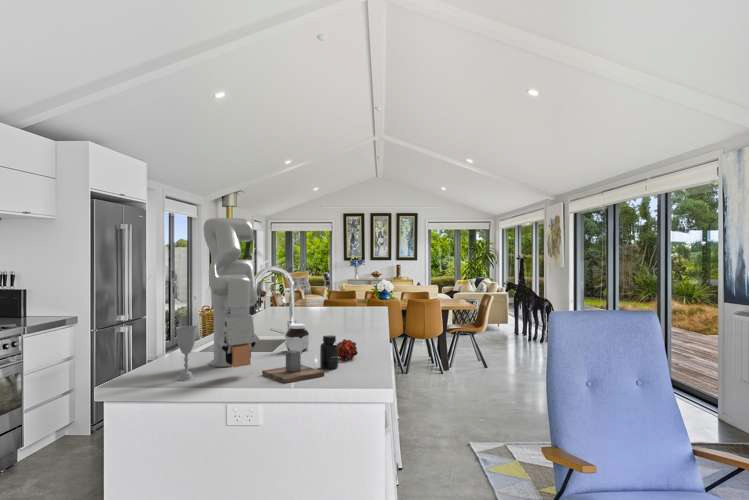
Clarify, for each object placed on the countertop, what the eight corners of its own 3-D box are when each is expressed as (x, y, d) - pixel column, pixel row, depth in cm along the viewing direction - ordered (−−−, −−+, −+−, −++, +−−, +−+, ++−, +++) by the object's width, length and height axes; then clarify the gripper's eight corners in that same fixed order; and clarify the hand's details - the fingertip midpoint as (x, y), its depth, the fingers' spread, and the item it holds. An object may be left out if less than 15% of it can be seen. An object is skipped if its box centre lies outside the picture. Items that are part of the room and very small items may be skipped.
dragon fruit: (348, 359, 225) (348, 369, 213) (332, 348, 224) (331, 357, 212) (360, 343, 224) (360, 353, 213) (344, 332, 223) (343, 341, 212)
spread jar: (302, 348, 243) (302, 322, 243) (316, 351, 234) (316, 325, 234) (279, 351, 235) (279, 325, 235) (292, 355, 227) (292, 328, 227)
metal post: (285, 371, 190) (285, 351, 190) (295, 369, 192) (294, 350, 192) (291, 372, 187) (291, 353, 187) (300, 371, 189) (300, 351, 189)
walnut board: (262, 374, 191) (262, 370, 191) (300, 368, 201) (300, 364, 201) (284, 383, 178) (284, 378, 178) (324, 375, 188) (324, 371, 188)
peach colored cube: (226, 363, 188) (226, 344, 188) (242, 361, 192) (242, 342, 192) (233, 367, 184) (234, 347, 183) (250, 364, 188) (250, 345, 187)
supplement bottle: (335, 370, 198) (335, 337, 198) (317, 369, 199) (317, 337, 199) (340, 366, 205) (340, 335, 205) (323, 365, 206) (323, 334, 206)
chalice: (190, 375, 190) (190, 325, 190) (201, 378, 186) (200, 326, 186) (171, 379, 184) (171, 327, 185) (182, 382, 180) (181, 329, 180)
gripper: (219, 315, 179) (219, 368, 180) (265, 311, 190) (265, 360, 191) (210, 312, 185) (210, 363, 185) (256, 308, 196) (255, 356, 196)
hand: (238, 361), depth 188 cm, fingers closed on peach colored cube, 6 cm apart
